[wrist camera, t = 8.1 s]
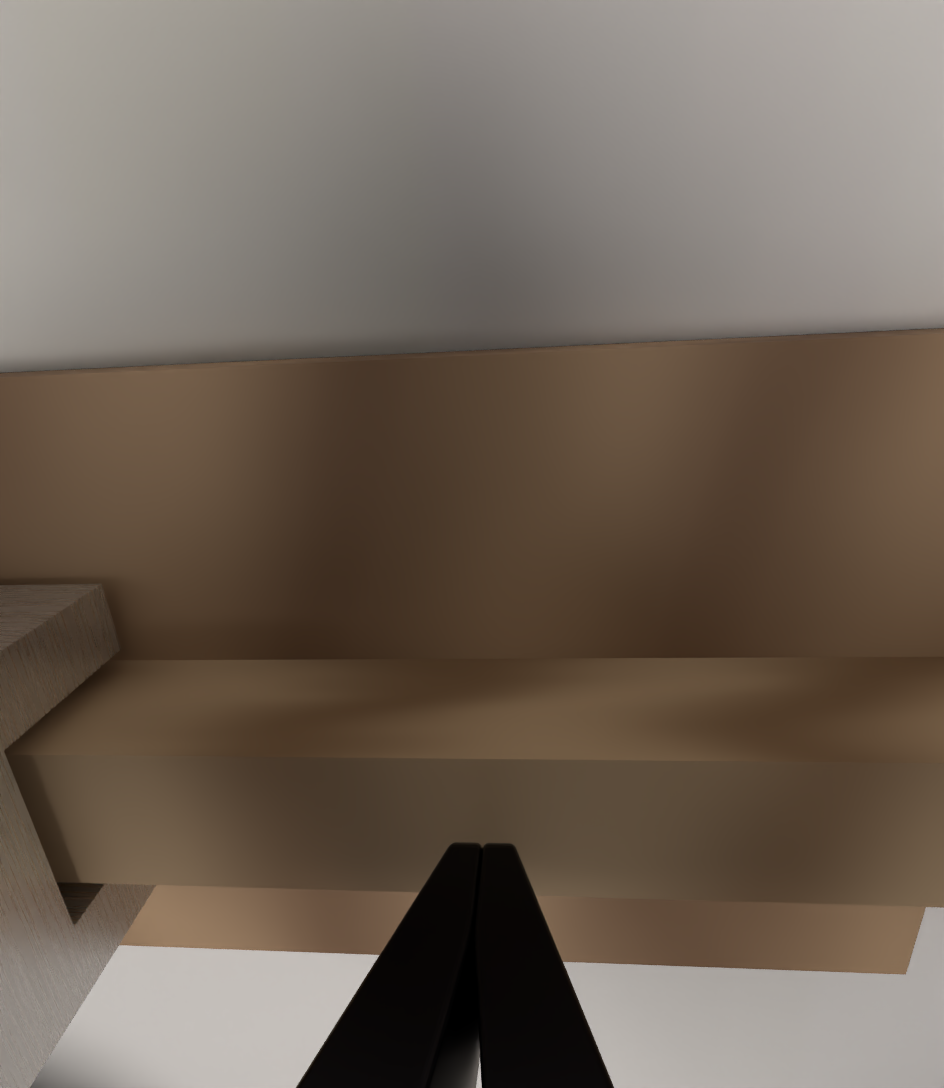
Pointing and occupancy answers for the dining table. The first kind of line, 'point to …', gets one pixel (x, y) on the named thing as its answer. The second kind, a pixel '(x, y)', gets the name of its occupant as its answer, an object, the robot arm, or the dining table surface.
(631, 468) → the rail board
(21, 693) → the metal slider block
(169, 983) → the dining table surface
